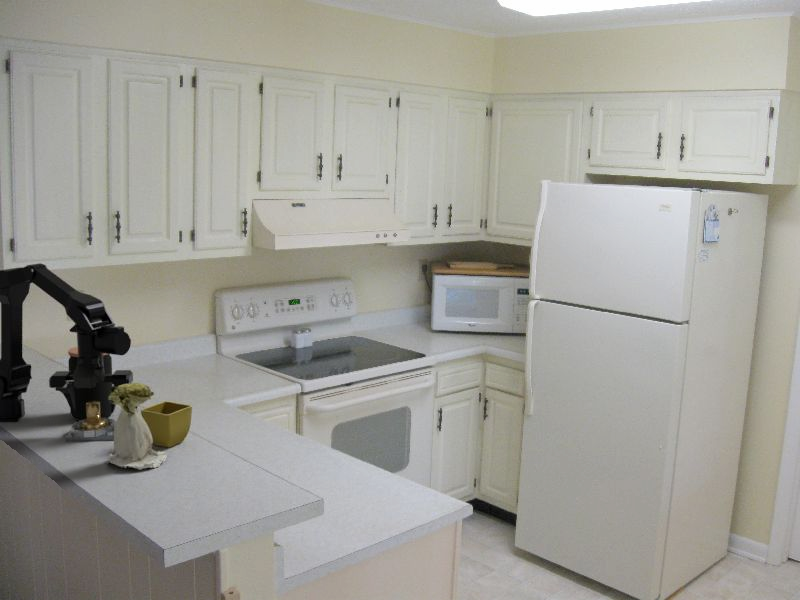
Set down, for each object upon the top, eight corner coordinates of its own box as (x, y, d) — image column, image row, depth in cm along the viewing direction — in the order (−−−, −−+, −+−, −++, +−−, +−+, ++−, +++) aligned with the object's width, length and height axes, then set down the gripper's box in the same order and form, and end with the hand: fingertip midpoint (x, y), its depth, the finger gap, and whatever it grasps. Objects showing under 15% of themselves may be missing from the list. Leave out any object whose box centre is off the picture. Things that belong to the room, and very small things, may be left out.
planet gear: (79, 435, 207) (78, 407, 206) (81, 427, 213) (80, 399, 212) (107, 433, 209) (106, 405, 208) (108, 425, 215) (107, 398, 214)
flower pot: (141, 445, 204) (139, 409, 202) (166, 435, 211) (165, 400, 210) (169, 452, 200) (167, 415, 198) (194, 441, 207) (193, 405, 206)
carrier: (66, 441, 206) (65, 431, 205) (77, 427, 216) (76, 418, 216) (146, 439, 208) (146, 429, 208) (154, 425, 218) (153, 416, 218)
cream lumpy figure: (141, 476, 185) (137, 393, 182) (95, 466, 190) (91, 386, 187) (176, 458, 195) (173, 380, 192) (132, 450, 201) (128, 374, 198)
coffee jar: (120, 411, 230) (118, 346, 227) (101, 423, 219) (98, 355, 216) (84, 409, 231) (81, 344, 228) (62, 420, 221) (59, 352, 218)
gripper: (40, 359, 199) (44, 423, 202) (123, 358, 201) (125, 421, 204) (54, 348, 210) (57, 409, 213) (132, 347, 212) (134, 408, 215)
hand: (93, 412), depth 211 cm, fingers open, 9 cm apart
